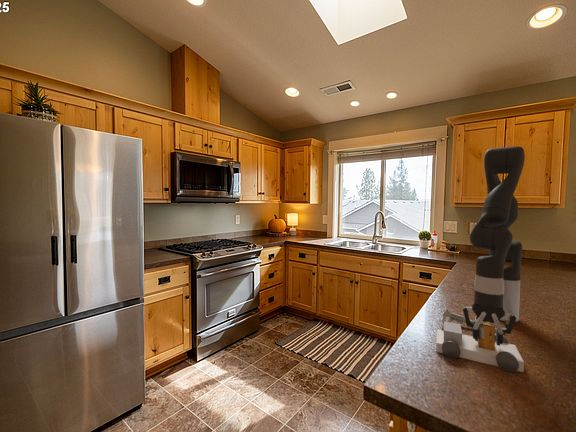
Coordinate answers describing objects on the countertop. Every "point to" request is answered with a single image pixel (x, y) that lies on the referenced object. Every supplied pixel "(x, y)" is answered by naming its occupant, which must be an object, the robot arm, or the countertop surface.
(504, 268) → the robot arm
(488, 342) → the supplement box
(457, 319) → the caliper
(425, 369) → the countertop surface
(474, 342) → the chassis
